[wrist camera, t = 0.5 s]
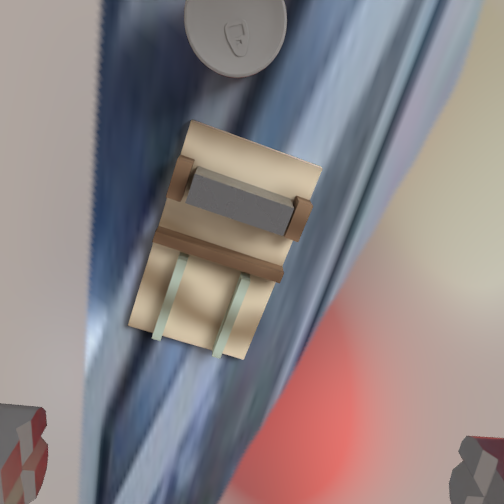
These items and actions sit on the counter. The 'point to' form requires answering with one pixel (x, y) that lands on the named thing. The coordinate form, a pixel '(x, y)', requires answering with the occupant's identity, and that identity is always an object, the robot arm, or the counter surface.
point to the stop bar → (240, 201)
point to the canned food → (235, 33)
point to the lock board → (219, 247)
